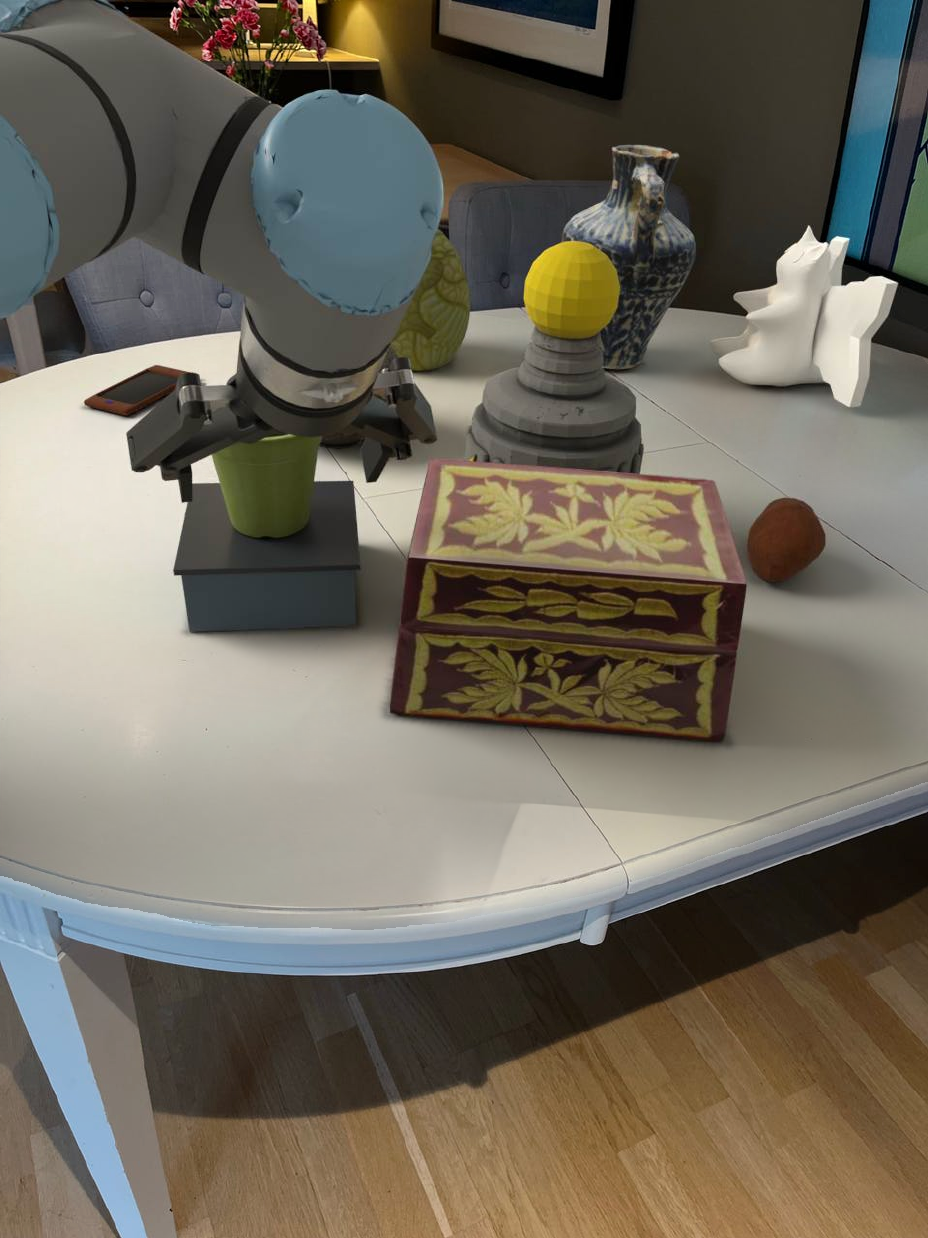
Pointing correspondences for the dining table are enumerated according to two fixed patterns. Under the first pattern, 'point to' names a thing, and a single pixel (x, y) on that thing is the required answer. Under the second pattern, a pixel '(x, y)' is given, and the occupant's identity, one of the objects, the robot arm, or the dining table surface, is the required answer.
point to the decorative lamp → (562, 376)
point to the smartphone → (136, 390)
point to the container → (269, 565)
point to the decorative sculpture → (436, 311)
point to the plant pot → (268, 483)
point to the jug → (637, 248)
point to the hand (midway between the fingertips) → (278, 474)
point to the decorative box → (570, 601)
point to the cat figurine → (809, 324)
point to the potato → (784, 539)
